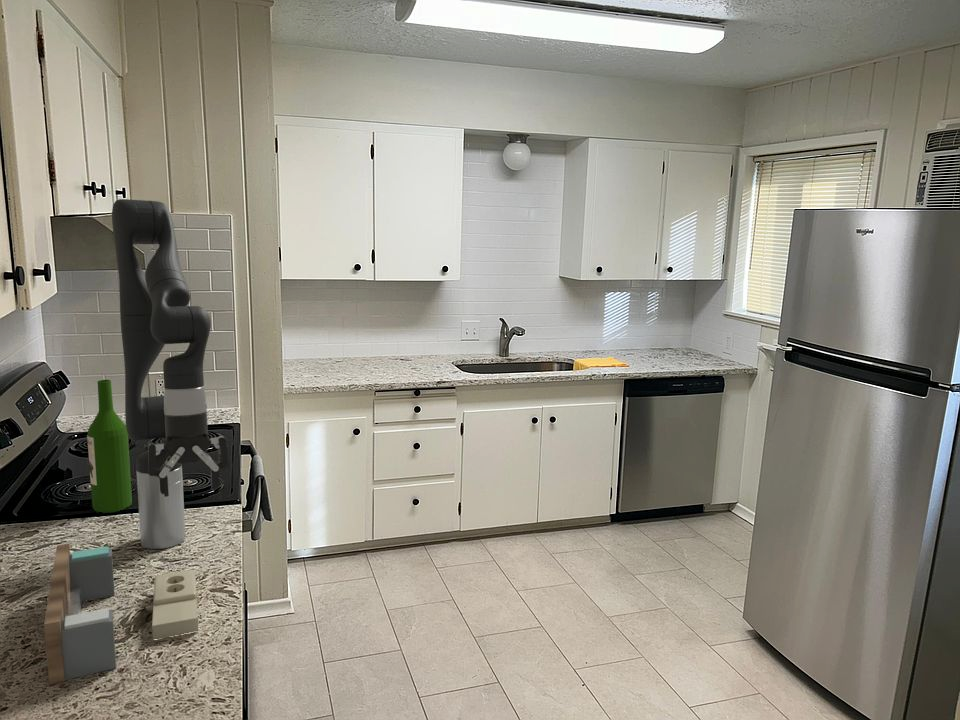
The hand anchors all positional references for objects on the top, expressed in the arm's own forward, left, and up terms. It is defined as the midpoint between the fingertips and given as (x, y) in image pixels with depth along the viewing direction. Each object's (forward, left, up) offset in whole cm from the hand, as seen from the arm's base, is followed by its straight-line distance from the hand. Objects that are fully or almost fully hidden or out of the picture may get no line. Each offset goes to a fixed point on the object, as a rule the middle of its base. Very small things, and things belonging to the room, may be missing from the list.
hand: (190, 492), depth 137 cm
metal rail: (+10, -20, -19) cm, 30 cm away
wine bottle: (-52, -14, -19) cm, 57 cm away
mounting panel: (+10, -22, -19) cm, 31 cm away
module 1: (-3, -18, -19) cm, 26 cm away
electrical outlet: (+11, -4, -19) cm, 22 cm away
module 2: (+23, -18, -19) cm, 35 cm away
